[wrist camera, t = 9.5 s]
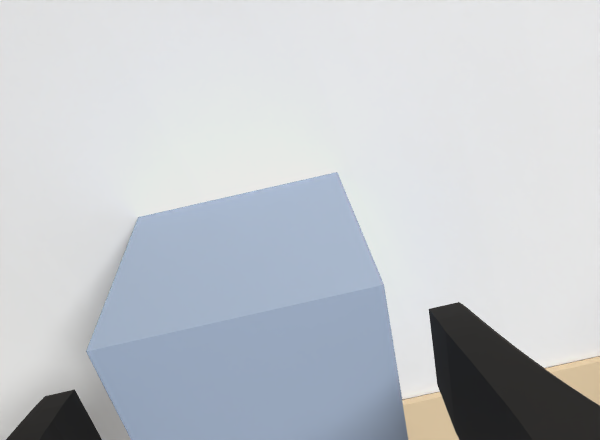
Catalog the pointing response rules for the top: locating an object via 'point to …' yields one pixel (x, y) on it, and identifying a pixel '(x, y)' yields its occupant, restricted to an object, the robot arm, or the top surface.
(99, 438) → the robot arm
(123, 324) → the powder blue cube
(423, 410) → the letter card
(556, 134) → the top surface
